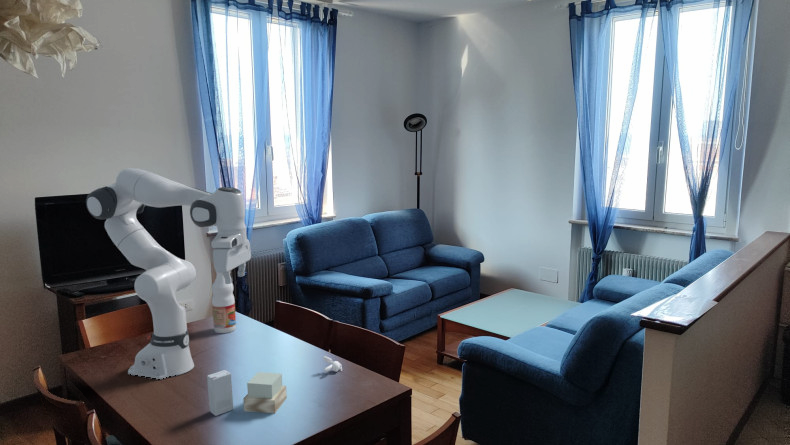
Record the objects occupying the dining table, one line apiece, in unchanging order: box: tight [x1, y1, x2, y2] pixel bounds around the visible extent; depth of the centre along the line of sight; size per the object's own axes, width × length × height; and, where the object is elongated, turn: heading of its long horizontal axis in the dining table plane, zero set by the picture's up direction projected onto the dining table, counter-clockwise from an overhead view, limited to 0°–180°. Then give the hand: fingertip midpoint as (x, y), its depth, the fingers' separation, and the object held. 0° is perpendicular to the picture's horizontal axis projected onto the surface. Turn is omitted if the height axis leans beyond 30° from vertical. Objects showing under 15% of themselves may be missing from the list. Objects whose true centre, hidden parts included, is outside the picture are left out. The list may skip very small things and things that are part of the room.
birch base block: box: [243, 385, 288, 414], centre depth 170 cm, size 10×10×4 cm
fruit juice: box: [211, 271, 237, 334], centre depth 235 cm, size 9×9×28 cm
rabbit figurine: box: [322, 355, 343, 373], centre depth 193 cm, size 6×4×8 cm
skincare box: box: [206, 369, 234, 416], centre depth 165 cm, size 6×4×12 cm
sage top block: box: [246, 371, 283, 399], centre depth 169 cm, size 8×8×4 cm
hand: (235, 279), depth 176 cm, fingers open, 8 cm apart
